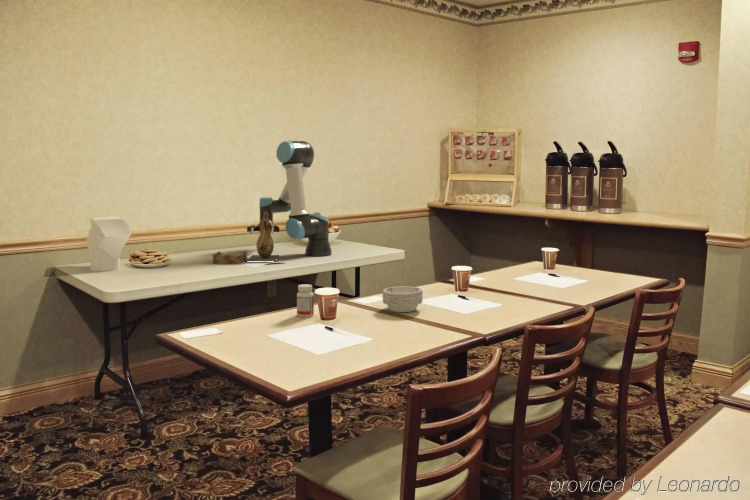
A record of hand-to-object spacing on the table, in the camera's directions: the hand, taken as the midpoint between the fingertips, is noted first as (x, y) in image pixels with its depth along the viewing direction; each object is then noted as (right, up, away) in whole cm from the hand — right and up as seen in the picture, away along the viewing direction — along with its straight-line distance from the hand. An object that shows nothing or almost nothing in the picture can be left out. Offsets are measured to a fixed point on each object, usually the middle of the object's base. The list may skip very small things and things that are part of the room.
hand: (262, 231), depth 364 cm
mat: (0, -15, +7) cm, 17 cm away
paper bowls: (+71, -33, -105) cm, 131 cm away
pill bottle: (+35, -34, -115) cm, 125 cm away
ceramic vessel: (0, -14, +6) cm, 15 cm away
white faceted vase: (-74, -19, -20) cm, 79 cm away
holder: (-17, -16, -1) cm, 24 cm away
